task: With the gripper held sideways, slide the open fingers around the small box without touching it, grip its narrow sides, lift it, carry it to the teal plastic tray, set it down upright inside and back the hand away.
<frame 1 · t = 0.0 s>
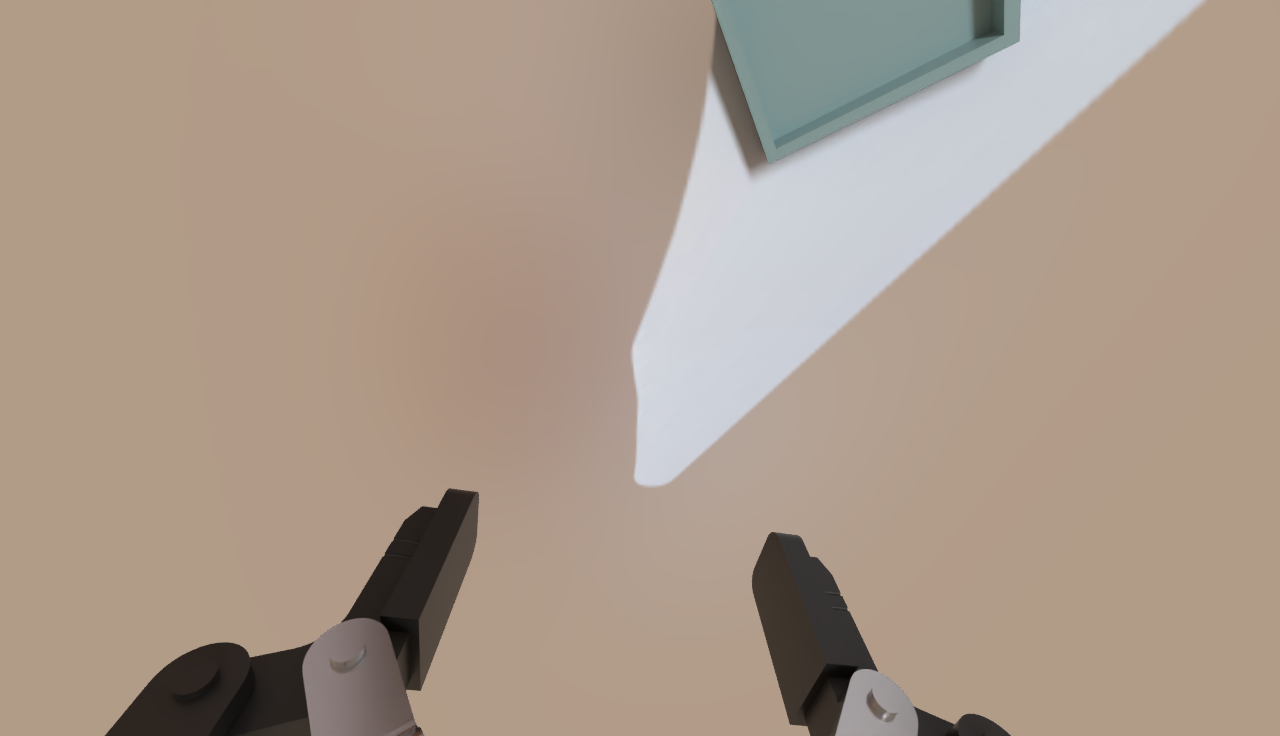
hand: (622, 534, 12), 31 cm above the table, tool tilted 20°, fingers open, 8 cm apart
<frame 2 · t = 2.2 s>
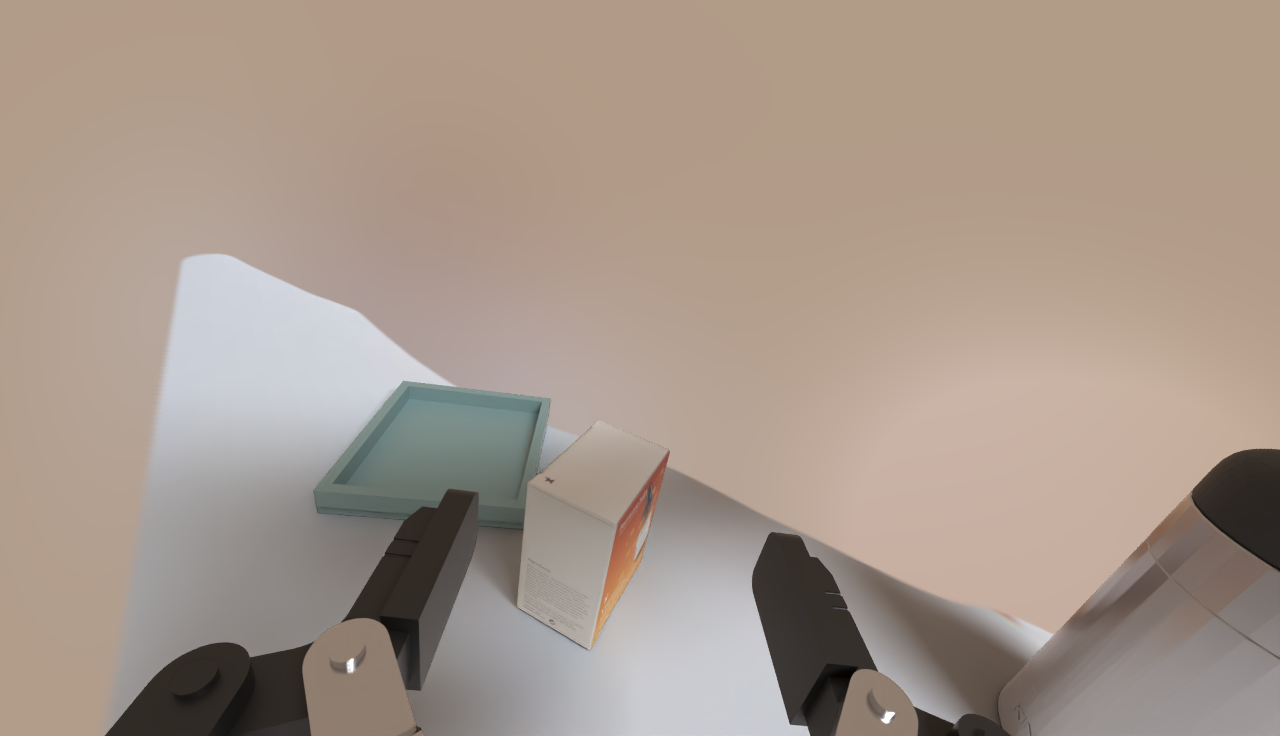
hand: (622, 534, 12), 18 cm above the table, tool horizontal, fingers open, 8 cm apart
small box: (583, 584, 31), on the table
tray: (455, 454, 40), on the table
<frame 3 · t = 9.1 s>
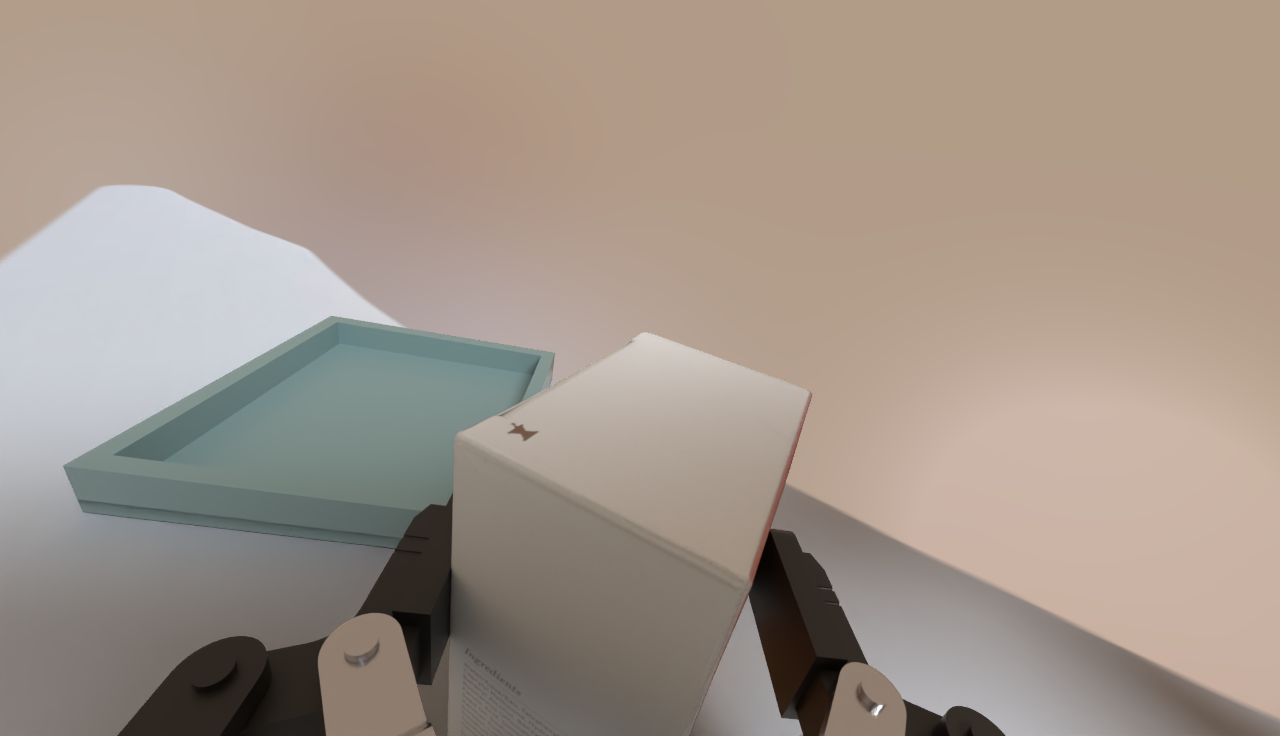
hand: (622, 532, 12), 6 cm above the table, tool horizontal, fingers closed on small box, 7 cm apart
small box: (603, 686, 15), on the table, touching gripper
tray: (392, 424, 24), on the table
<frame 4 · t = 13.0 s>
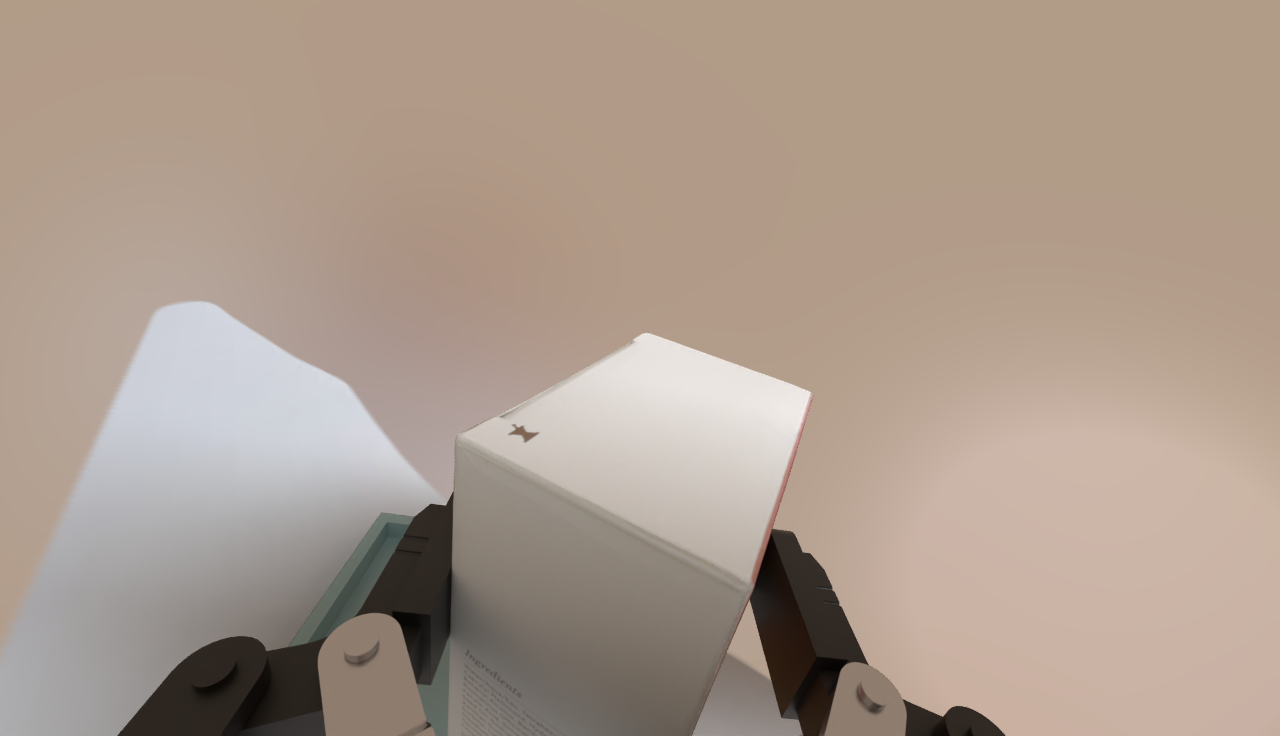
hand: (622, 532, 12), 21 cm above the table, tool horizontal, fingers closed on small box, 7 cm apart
small box: (603, 687, 15), point 14 cm above the table, touching gripper
tray: (440, 643, 29), on the table
when the fingers open (8 cm above the table, at t = 17.1 s): small box stays where it is, resting on tray.
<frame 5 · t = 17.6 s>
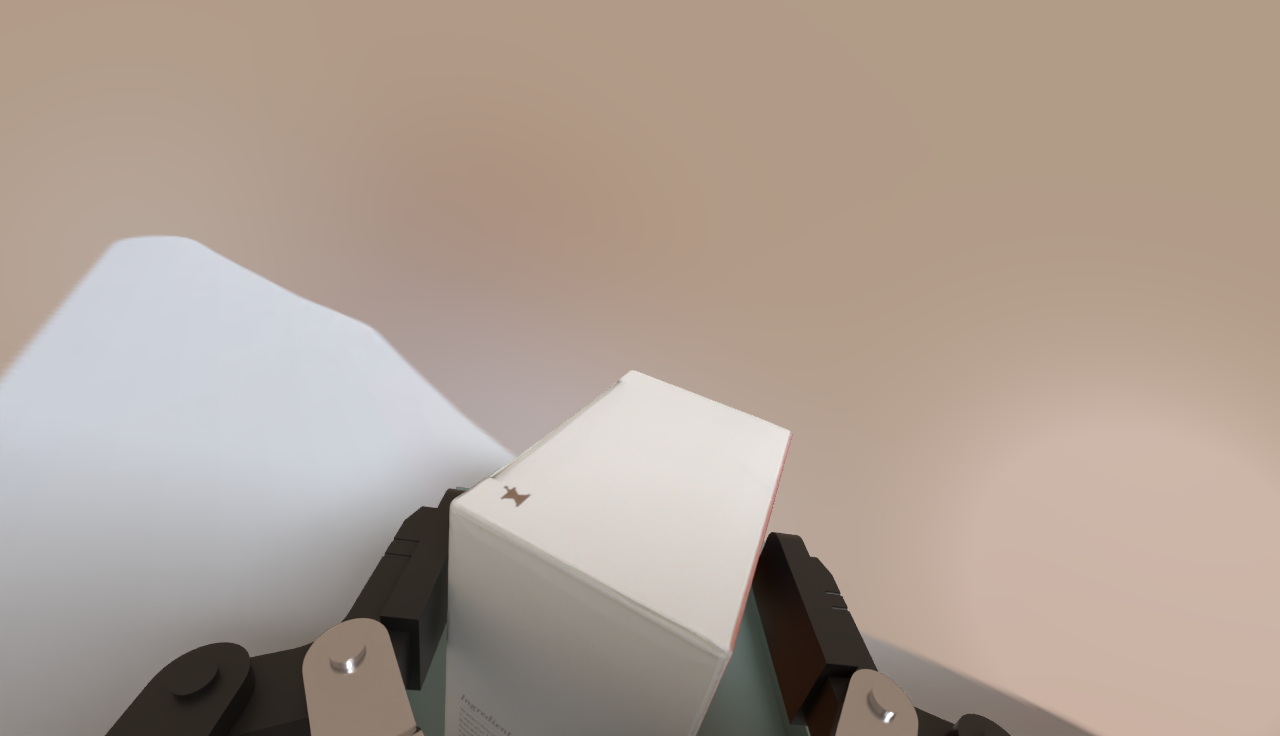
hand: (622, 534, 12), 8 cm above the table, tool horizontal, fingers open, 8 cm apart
small box: (594, 712, 15), resting on tray
tray: (596, 716, 15), on the table
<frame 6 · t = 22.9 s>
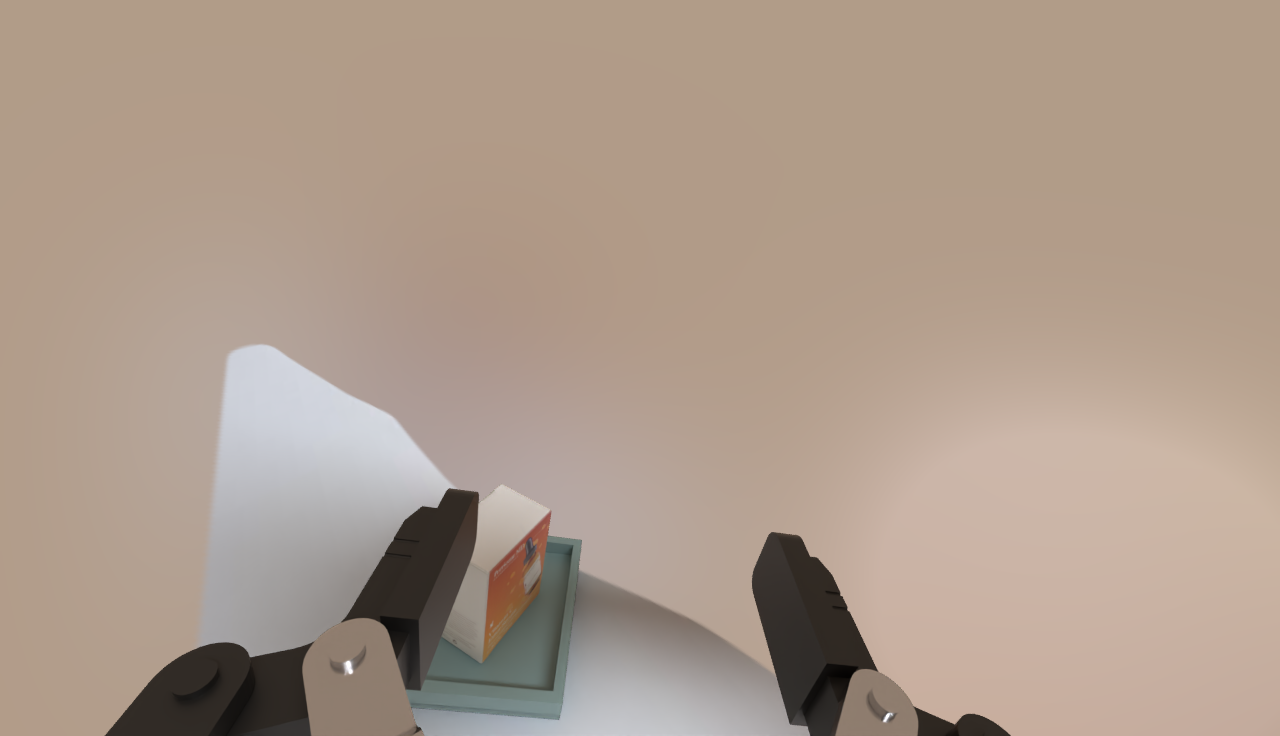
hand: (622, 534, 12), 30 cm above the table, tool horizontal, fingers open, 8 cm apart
small box: (488, 612, 40), resting on tray
tray: (489, 614, 41), on the table
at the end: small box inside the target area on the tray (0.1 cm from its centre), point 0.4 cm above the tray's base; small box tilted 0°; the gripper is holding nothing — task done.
